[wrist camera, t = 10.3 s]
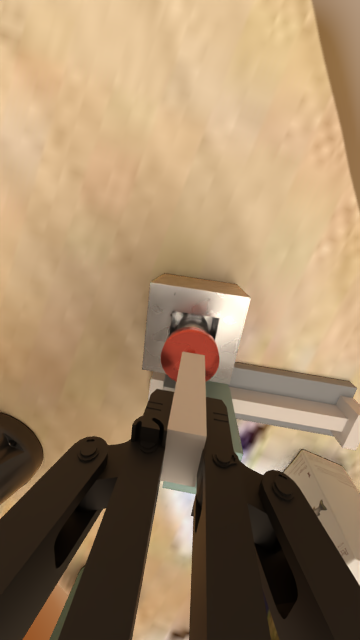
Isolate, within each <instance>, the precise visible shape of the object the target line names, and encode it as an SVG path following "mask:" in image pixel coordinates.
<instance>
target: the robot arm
mask: <svg viewBox="0 0 360 640" xmlns="http://www.w3.org/2000/svg"><path fill="white" fill-rule="evenodd" d="M42 460H43V453H42V448H41V445H40V443H39V441H38V439H37V438H36V436H35V435H34V434H33V433H32V432H31V430H30V429H28V428H27V427H26V426H25V425H24V424H22V423H21V422H19V421H18V420H16V419H14V418H12V417H10V416H8V415H5V414H2V413H0V504H2V503H3V502H4V501H5V500H7V499H8V498H9V497H10V496H11V495H13V494H14V493H15V492H16V491H17V490H18V489H19V488H21V487H22V486H23V485H25V484H26V483H27V482H28V481H29V480H30V479H31V478H32V477H33V475H34V474H35V473H36V471H37V470H38V469H39V467H40V466H41V463H42ZM160 480H161V481H166V482H171V483H176V484H181V485H186V486H191V487H195V485H196V496H195V500H194V505H193V509H192V513H191V516H194V518H193V546H192V574H191V602H190V631H189V640H271V636H270V630H269V624H268V619H267V613H266V607H265V601H264V596H263V592H264V595H265V598H266V601H267V604H268V607H269V610H270V613H271V616H272V619H273V622H274V625H275V628H276V631H277V634H278V637H279V640H360V585H359V584H358V582H357V580H356V579H355V577H354V575H353V574H352V572H351V571H350V569H349V567H348V566H347V564H346V562H345V561H344V559H343V558H342V556H341V554H340V553H339V551H338V549H337V548H336V546H335V545H334V543H333V541H332V540H331V538H330V536H329V535H328V533H327V532H326V530H325V528H324V527H323V525H322V523H321V522H320V520H319V519H318V517H317V515H316V514H315V512H314V510H313V509H312V507H311V506H310V504H309V502H308V501H307V499H306V498H305V496H304V494H303V493H302V491H301V489H300V488H299V487H298V485H297V484H296V483H295V482H294V480H292V479H291V478H290V477H289V476H288V475H286V474H284V473H282V472H280V471H275V470H270V471H267V472H266V473H265V474H264V475H261V474H259V473H257V472H255V471H253V470H251V469H250V468H248V467H246V466H245V465H244V464H243V463H242V462H241V461H240V460H239V458H238V456H237V454H236V453H235V452H234V449H233V444H232V437H231V431H230V424H229V418H228V411H227V407H226V405H225V404H224V402H223V401H222V400H220V399H215V398H209V397H206V385H205V355H200V354H194V353H188V352H182V356H181V361H180V366H179V371H178V376H177V382H176V387H175V392H172V391H167V390H161V389H156V390H155V391H154V392H153V393H152V394H151V395H150V398H149V401H148V404H147V406H146V409H145V412H144V415H143V416H141V417H139V418H138V419H136V420H135V422H134V423H133V425H132V435H131V440H129V441H127V442H125V443H122V444H116V445H107V443H106V441H105V440H103V439H102V438H100V437H95V436H93V437H86V438H84V439H81V440H79V441H78V442H77V443H75V444H74V445H73V446H72V447H71V448H70V449H69V450H68V451H67V452H66V453H65V454H64V455H63V456H62V457H61V458H60V459H59V460H58V461H57V462H56V463H55V464H54V465H53V466H52V467H51V468H50V469H49V470H48V471H47V472H46V473H45V474H44V475H43V476H42V477H41V478H40V479H39V480H38V481H37V482H36V483H35V484H34V485H33V487H32V488H31V489H30V490H29V491H28V492H27V493H26V494H25V495H24V496H23V497H22V498H21V499H20V500H19V501H18V502H17V503H16V504H15V505H14V506H13V507H12V508H11V509H10V510H9V511H8V512H7V513H6V514H5V515H4V516H3V517H2V518H1V519H0V640H22V639H23V638H24V636H25V635H26V633H27V631H28V629H29V628H30V626H31V625H32V623H33V622H34V620H35V618H36V617H37V615H38V613H39V612H40V610H41V609H42V607H43V605H44V604H45V602H46V600H47V599H48V597H49V596H50V594H51V592H52V591H53V589H54V587H55V586H56V584H57V583H58V581H59V579H60V578H61V576H62V575H63V573H64V571H65V570H66V568H67V566H68V565H69V563H70V562H71V560H72V558H73V557H74V555H75V554H76V552H77V550H78V549H79V547H80V545H81V544H82V542H83V541H84V539H85V537H86V536H87V534H88V532H89V531H90V529H91V528H92V526H93V524H94V523H95V521H96V520H97V518H98V516H99V515H100V513H101V511H102V510H103V509H104V508H106V511H105V513H104V516H103V519H102V522H101V524H100V527H99V530H98V532H97V535H96V538H95V540H94V543H93V546H92V549H91V551H90V554H89V557H88V559H87V562H86V565H85V568H84V570H83V573H82V576H81V578H80V581H79V584H78V587H77V589H76V592H75V595H74V597H73V600H72V603H71V606H70V608H69V611H68V614H67V616H66V619H65V622H64V625H63V627H62V630H61V633H60V635H59V638H58V640H132V636H133V630H134V625H135V619H136V614H137V608H138V602H139V597H140V591H141V586H142V580H143V574H144V569H145V563H146V558H147V552H148V547H149V541H150V535H151V530H152V524H153V519H154V513H155V508H156V502H157V496H158V490H159V484H160ZM196 481H197V482H196ZM262 589H263V590H262Z"/></svg>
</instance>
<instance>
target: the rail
mask: <svg viewBox="0 0 360 640" xmlns="http://www.w3.org/2000/svg"><path fill="white" fill-rule="evenodd" d="M228 386H229V388H230V392H231V397H232V402H233V407H234V412H235V417H236V419H240V420H246V421H252V422H257V423H263V424H268V425H274V426H279V427H285V428H290V429H296V430H302V431H307V432H313V433H318V434H324V435H329V436H334V437H335V438H336V440H337V441H338V442H339V444H340V445H341V447H342V448H346V449H351V450H356V449H357V447H358V445H359V443H360V405H359V404H358V403H357V402H356V401H355V400H354V399H353V396H354V394H355V392H356V390H357V388H356V387H355V386H354V385H353V384H352V383H351V382H350V381H344V380H338V379H332V378H326V377H320V376H314V375H308V374H302V373H296V372H290V371H284V370H278V369H272V368H266V367H261V366H255V365H249V364H243V363H237V362H235V364H234V368H233V372H232V376H231V380H230V384H228ZM175 387H176V381H174V380H172V379H171V378H170V377H169V376H168V375H167V374H166V373H160V372H154V371H153V374H152V376H151V379H150V388H149V397H148V401H149V398H150V395H151V394H152V393H153V392H154V391H155V390H156V389H161V390H167V391H172V392H175Z"/></svg>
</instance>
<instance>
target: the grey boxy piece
mask: <svg viewBox="0 0 360 640" xmlns="http://www.w3.org/2000/svg"><path fill="white" fill-rule="evenodd" d="M250 299H251V297H249V296H248V295H247V294H246V293H245V292H244V291H243V290H242V289H241V288H240V287H239V286H238V285H237V284H232V283H225V282H219V281H212V280H205V279H199V278H192V277H186V276H179V275H172V274H166V273H164V274H163V275H161V276H160V277H158V278H156V279H155V280H153V281H152V282H150V291H149V301H148V312H147V323H146V333H145V344H144V354H143V365H142V369H143V370H148V371H154V372H160V373H165V371H164V369H163V367H162V364H161V352H162V349H163V346H164V344H165V341H166V340H167V338H168V337H169V336H170V335H171V334H172V333H173V332H174V331H176V330H177V327H178V324H179V321H180V319H181V318H182V317H183V316H185V315H186V314H196V315H201V316H203V317H204V318H205V319H206V321H207V323H208V329H209V334H210V335H211V336H212V337H213V338H214V340H215V342H216V344H217V347H218V352H219V361H220V362H219V367H218V369H217V372H216V373H215V375H214V376H213V377H212V378H211V379H209V380H208V381H212V382H218V383H224V384H230V380H231V376H232V372H233V368H234V364H235V360H236V356H237V352H238V348H239V344H240V340H241V336H242V331H243V327H244V323H245V319H246V315H247V311H248V307H249V303H250Z"/></svg>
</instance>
